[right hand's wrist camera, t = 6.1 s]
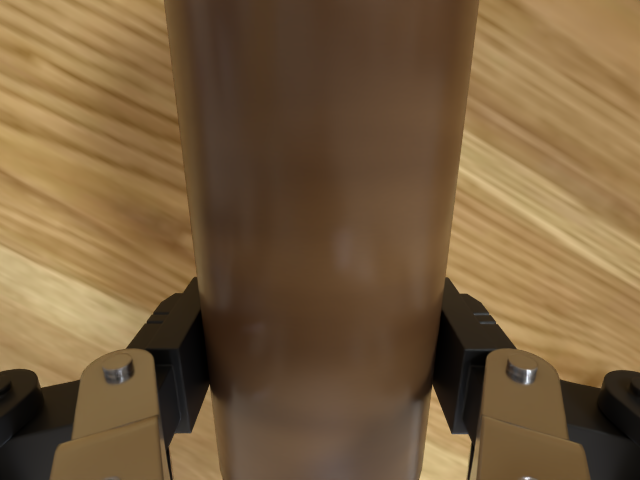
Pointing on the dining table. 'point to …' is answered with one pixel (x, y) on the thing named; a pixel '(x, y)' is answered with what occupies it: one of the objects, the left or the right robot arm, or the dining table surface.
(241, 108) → the rod
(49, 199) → the dining table surface
